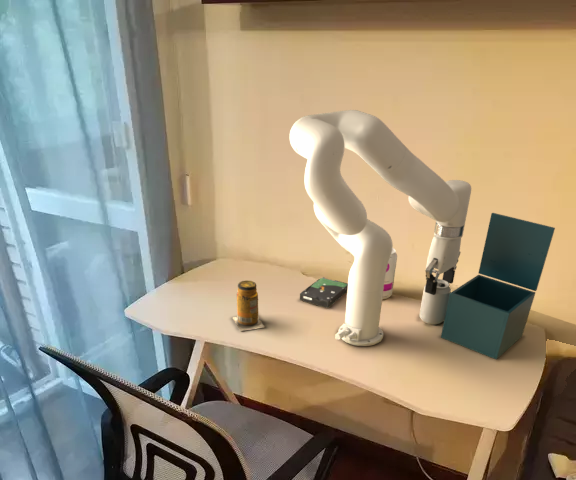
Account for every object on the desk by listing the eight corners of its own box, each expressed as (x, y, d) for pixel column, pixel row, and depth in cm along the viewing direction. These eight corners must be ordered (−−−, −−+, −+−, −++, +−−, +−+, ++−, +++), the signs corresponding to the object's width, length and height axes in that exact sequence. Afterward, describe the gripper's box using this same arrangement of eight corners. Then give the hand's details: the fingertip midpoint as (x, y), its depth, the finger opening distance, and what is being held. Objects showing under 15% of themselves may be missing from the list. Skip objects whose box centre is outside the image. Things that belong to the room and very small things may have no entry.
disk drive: (328, 309, 166) (349, 290, 176) (329, 301, 164) (349, 283, 174) (299, 301, 170) (320, 283, 180) (299, 293, 168) (321, 275, 179)
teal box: (496, 359, 144) (509, 313, 136) (440, 337, 153) (449, 293, 145) (522, 336, 154) (535, 292, 146) (468, 317, 163) (478, 274, 155)
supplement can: (385, 302, 170) (391, 257, 161) (361, 296, 173) (366, 251, 165) (395, 293, 175) (402, 248, 167) (372, 286, 179) (377, 243, 170)
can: (444, 327, 158) (452, 289, 151) (418, 324, 159) (425, 287, 152) (444, 315, 164) (451, 278, 157) (418, 312, 165) (425, 276, 158)
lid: (554, 228, 135) (564, 221, 139) (491, 213, 144) (502, 206, 148) (535, 291, 145) (545, 282, 149) (478, 273, 154) (488, 265, 158)
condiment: (256, 314, 162) (255, 277, 155) (264, 327, 156) (264, 289, 149) (232, 318, 160) (230, 280, 153) (240, 331, 154) (238, 293, 147)
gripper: (452, 218, 152) (442, 274, 162) (419, 234, 142) (411, 293, 152) (477, 224, 148) (465, 281, 158) (445, 242, 138) (435, 302, 148)
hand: (438, 287), depth 155 cm, fingers open, 9 cm apart
